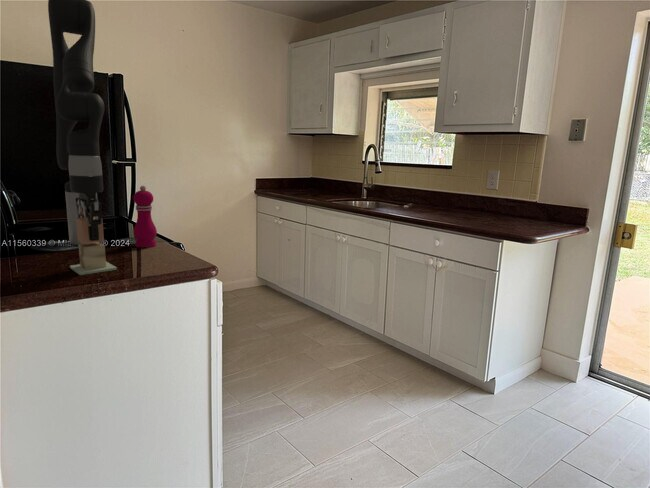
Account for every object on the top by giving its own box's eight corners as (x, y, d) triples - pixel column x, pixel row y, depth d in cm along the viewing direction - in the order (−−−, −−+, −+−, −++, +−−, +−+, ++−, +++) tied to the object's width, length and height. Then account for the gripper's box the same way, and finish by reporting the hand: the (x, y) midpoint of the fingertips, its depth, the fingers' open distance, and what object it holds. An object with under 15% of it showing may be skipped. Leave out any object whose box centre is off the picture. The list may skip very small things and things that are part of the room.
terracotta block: (77, 240, 118) (75, 218, 117) (98, 238, 121) (96, 216, 120) (83, 243, 114) (81, 220, 113) (104, 241, 118) (102, 219, 117)
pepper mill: (161, 244, 151) (158, 185, 147) (151, 248, 144) (148, 186, 140) (140, 243, 152) (137, 184, 148) (129, 247, 145) (126, 186, 141)
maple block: (80, 266, 120) (78, 244, 118) (100, 263, 123) (98, 242, 122) (85, 270, 116) (84, 247, 115) (106, 267, 119) (104, 245, 118)
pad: (69, 267, 120) (69, 265, 120) (105, 262, 126) (105, 260, 126) (79, 275, 113) (79, 273, 113) (116, 269, 119) (116, 267, 119)
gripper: (61, 172, 117) (67, 235, 120) (78, 175, 107) (83, 245, 110) (92, 171, 122) (97, 232, 125) (111, 175, 112) (115, 241, 115)
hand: (90, 238), depth 118 cm, fingers closed on terracotta block, 4 cm apart
